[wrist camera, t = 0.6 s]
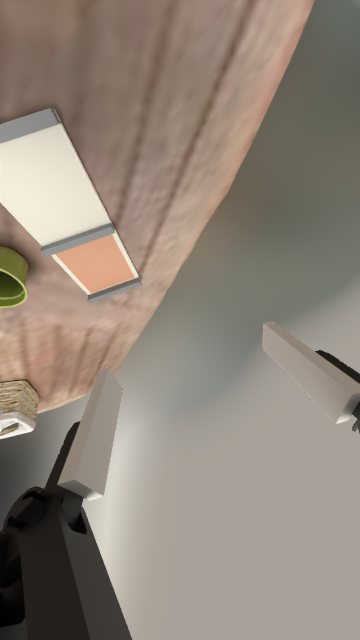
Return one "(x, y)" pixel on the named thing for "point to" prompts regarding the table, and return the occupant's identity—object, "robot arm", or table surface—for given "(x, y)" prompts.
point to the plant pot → (12, 278)
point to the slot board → (61, 204)
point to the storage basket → (17, 407)
